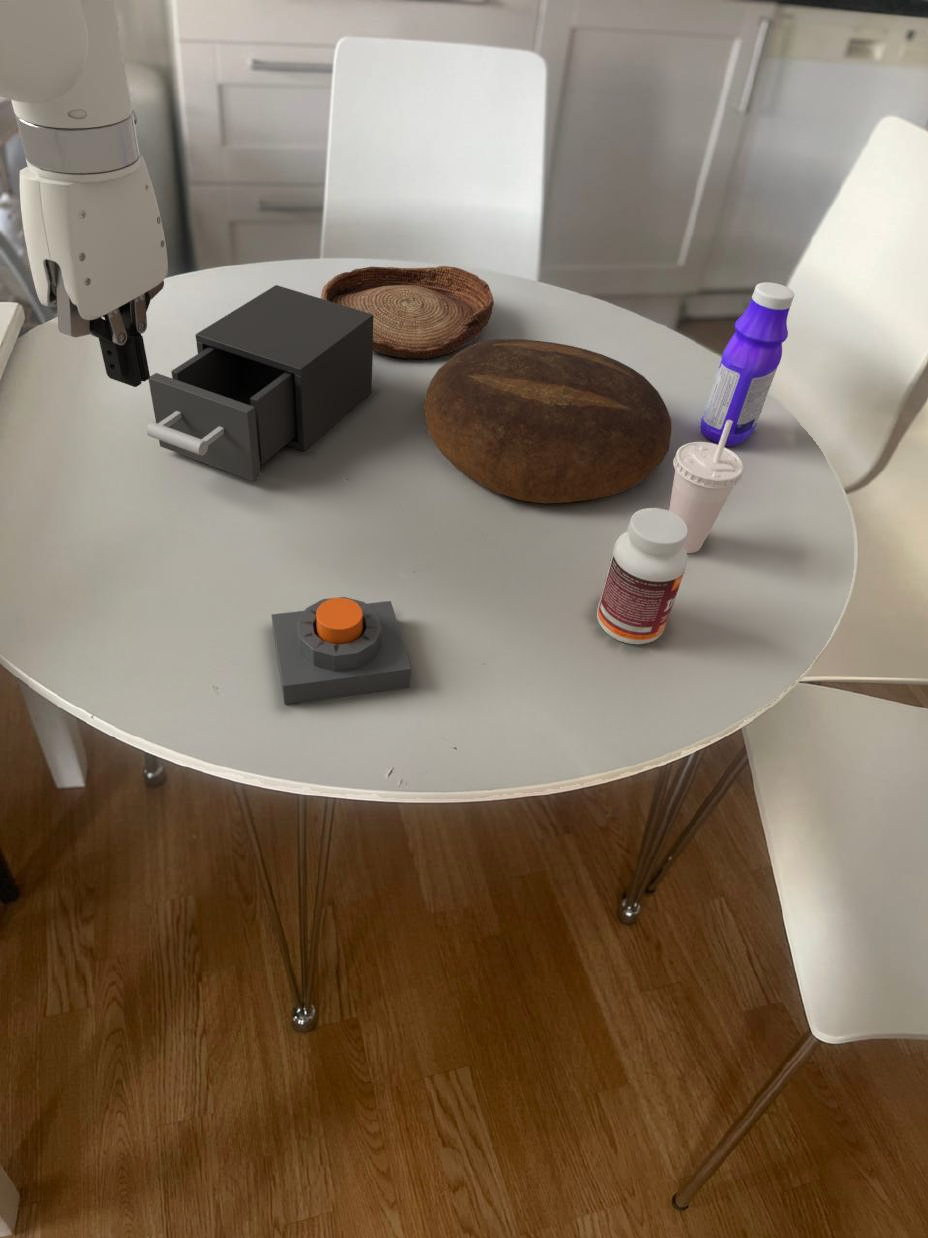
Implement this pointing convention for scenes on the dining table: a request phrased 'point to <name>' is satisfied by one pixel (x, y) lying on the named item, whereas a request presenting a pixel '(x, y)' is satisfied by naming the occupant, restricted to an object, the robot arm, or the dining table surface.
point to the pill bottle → (643, 577)
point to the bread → (546, 420)
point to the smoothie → (703, 485)
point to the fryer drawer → (224, 411)
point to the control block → (339, 655)
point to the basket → (416, 307)
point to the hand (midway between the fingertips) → (128, 378)
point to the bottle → (748, 365)
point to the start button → (339, 621)
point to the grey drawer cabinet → (303, 352)
